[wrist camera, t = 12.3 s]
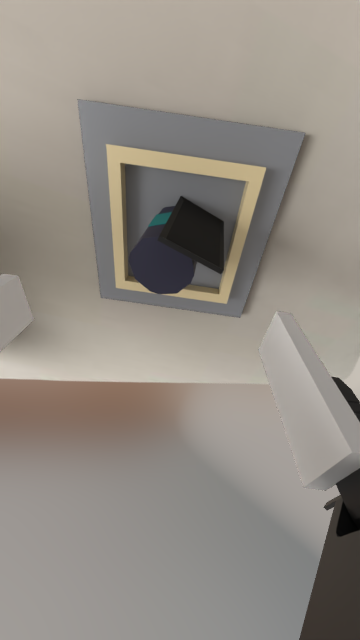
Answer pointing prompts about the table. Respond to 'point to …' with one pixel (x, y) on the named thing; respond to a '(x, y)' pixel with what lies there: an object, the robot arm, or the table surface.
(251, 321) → the table surface
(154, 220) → the speaker
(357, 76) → the table surface
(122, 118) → the mount board
